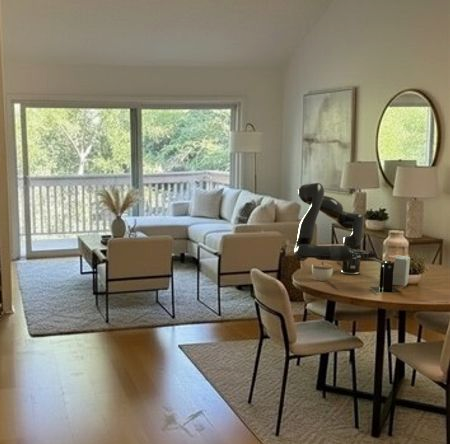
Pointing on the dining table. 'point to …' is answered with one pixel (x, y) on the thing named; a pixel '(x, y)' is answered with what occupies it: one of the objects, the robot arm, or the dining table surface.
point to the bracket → (386, 278)
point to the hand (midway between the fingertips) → (373, 254)
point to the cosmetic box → (401, 270)
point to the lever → (376, 259)
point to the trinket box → (322, 271)
